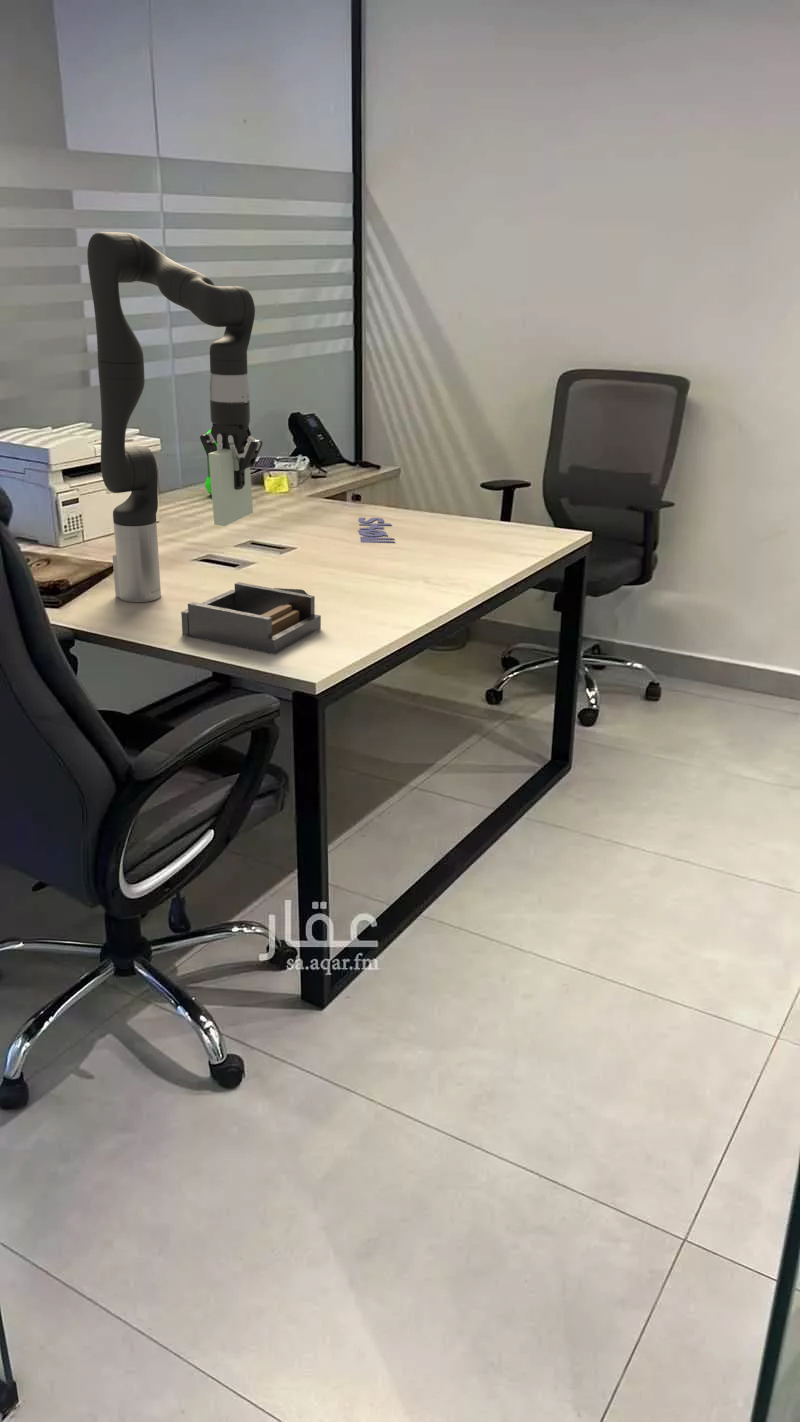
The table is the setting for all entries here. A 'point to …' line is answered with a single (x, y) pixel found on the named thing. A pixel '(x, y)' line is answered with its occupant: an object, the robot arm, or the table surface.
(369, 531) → the signage
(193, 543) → the table surface
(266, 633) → the tray
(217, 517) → the pale green flat block
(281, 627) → the offcut stack
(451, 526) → the table surface
